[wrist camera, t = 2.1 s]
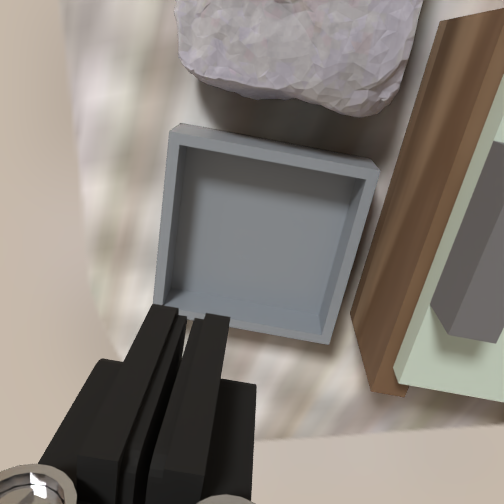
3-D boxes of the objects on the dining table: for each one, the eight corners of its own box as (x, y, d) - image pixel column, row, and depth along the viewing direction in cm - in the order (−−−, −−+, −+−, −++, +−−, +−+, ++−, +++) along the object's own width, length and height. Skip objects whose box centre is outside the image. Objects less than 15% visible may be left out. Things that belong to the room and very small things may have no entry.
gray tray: (370, 158, 22) (380, 170, 20) (324, 319, 26) (328, 344, 24) (181, 123, 22) (169, 131, 20) (163, 289, 26) (151, 312, 23)
